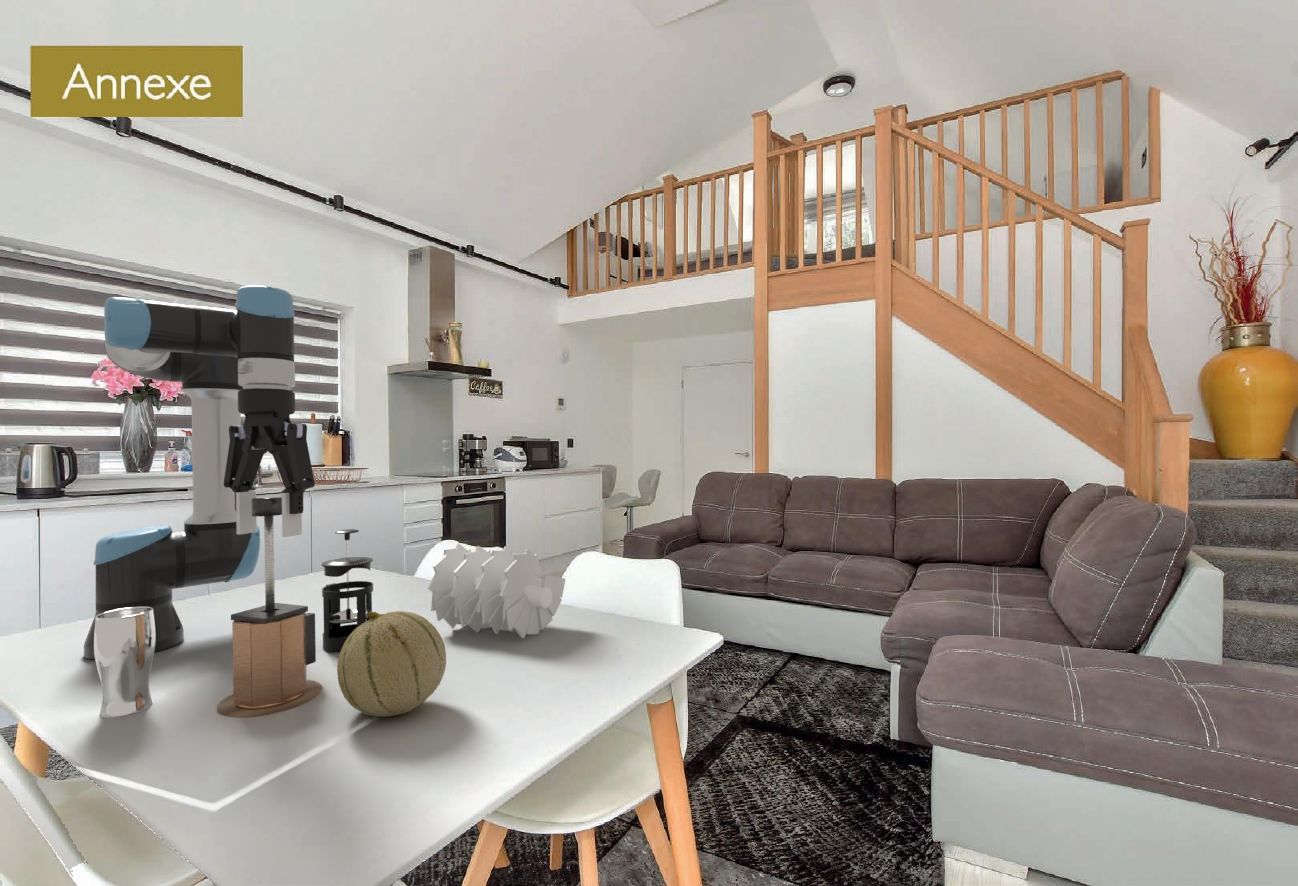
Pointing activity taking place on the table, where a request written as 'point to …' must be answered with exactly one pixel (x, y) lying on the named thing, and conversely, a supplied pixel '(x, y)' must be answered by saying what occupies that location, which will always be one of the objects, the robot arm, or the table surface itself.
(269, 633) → the carafe
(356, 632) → the cantaloupe
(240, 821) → the table surface
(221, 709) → the coaster
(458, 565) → the spiral staircase
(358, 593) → the french press
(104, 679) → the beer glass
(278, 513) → the plunger
